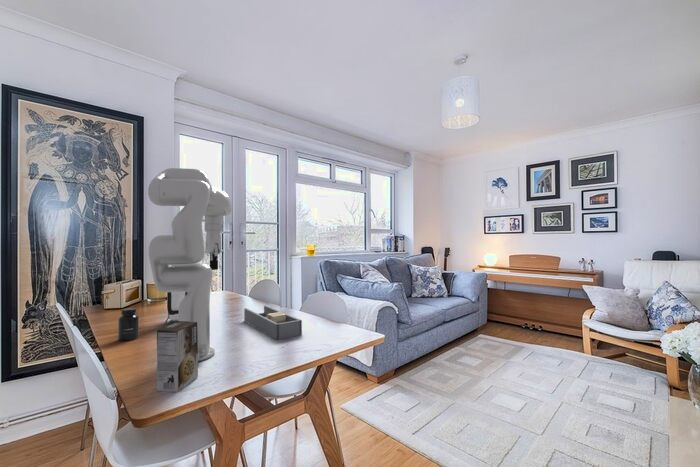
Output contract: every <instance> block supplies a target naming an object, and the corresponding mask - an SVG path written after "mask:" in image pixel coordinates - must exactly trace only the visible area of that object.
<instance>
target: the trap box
mask: <svg viewBox="0 0 700 467" xmlns="http://www.w3.org/2000/svg"><path fill="white" fill-rule="evenodd" d="M243 311H244V312H243V313H244V315H243V316H244V317H243V318H244V322H245V323H248V324H249V325H250V326H253V327H254V328H255V329H258V330H259V331H261V332H263V333H265V334H266V335H268V336H269V337H271V338H273V339H275V340H277V341H279V340H284V339H288V338H292V337H297V336H301V335H303V332H302V331H303V328H302V327H303V324H302V323H303V322H302V319H300V318H297V317H295V316H293V315H290V314H287V313H286V312H283V311H280V310H277V309H275V308H272V307H270V306H268V305H264V306H263V312H259V313H257V312H256V311H253V310H251V309H249V308H244V310H243ZM277 312H281V313H283V314H286V322H285V323H279V324H278V323H276V322H274V321H272V320H270V319H267V314H271V313H277Z"/></svg>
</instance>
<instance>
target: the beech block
mask: <svg viewBox="0 0 700 467" xmlns="http://www.w3.org/2000/svg"><path fill="white" fill-rule="evenodd" d="M281 312H282V311H281ZM281 312H277V313H271V314H267V319H270V320H272V321H274V322H276V323H278V324H279V323H285V322H286V314H287V313H285V314H283V313H284V312H283V313H281Z"/></svg>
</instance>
